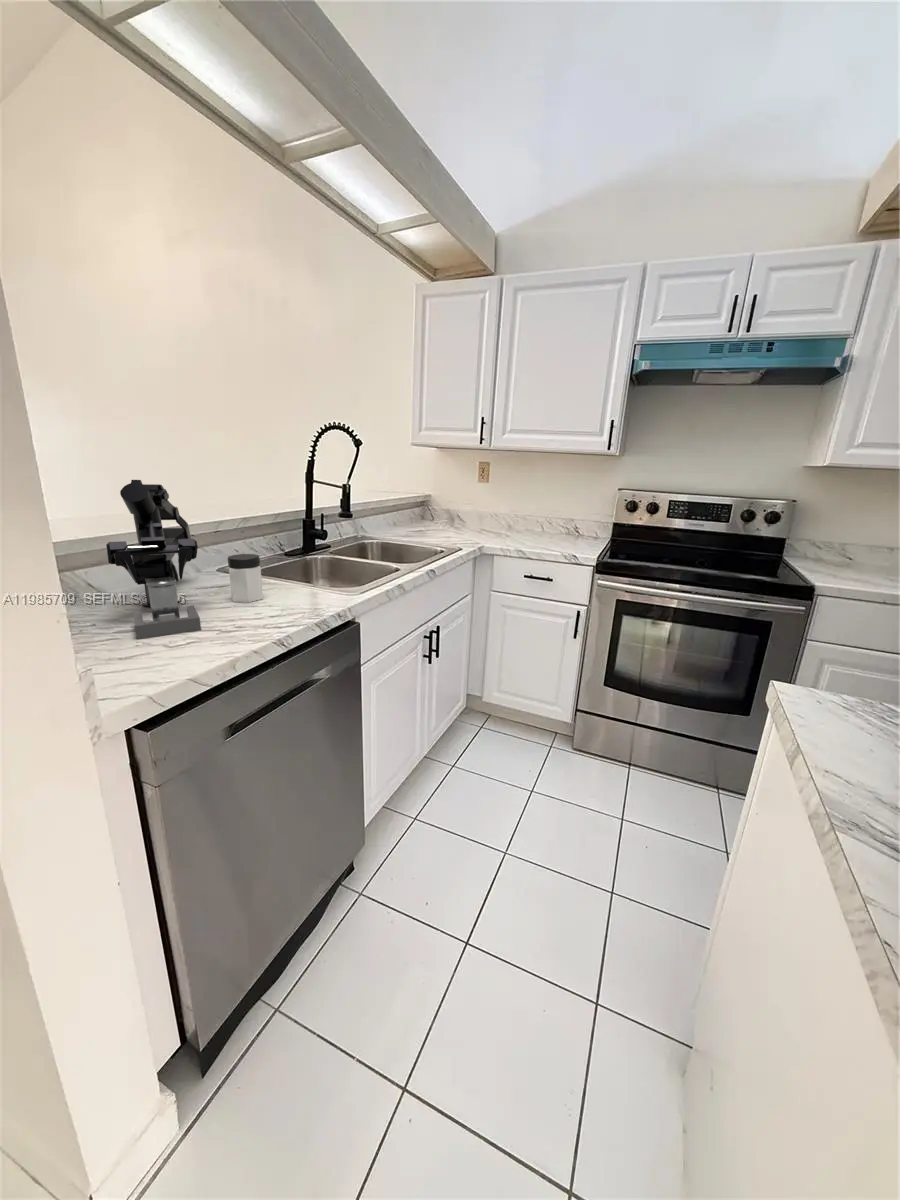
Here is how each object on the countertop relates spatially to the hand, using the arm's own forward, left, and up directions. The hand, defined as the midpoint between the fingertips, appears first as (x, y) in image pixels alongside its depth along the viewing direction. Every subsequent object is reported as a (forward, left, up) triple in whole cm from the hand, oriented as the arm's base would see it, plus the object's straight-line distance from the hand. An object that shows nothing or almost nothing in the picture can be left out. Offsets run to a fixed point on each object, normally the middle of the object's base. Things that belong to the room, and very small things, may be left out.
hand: (159, 580), depth 117 cm
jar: (+5, +23, -10) cm, 25 cm away
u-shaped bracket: (+5, -3, -10) cm, 11 cm away
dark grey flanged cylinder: (+5, -3, -10) cm, 11 cm away
